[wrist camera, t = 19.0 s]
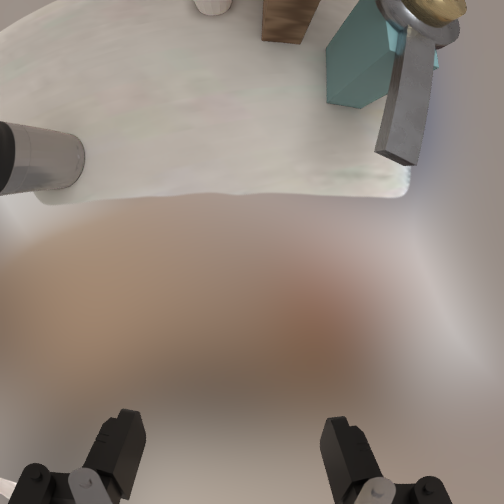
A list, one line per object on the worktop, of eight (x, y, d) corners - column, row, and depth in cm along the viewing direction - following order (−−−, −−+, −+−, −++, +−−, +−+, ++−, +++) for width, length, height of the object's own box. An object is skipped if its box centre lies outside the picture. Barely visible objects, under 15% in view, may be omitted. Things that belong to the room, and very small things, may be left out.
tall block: (326, 102, 39) (389, 50, 18) (325, 48, 36) (377, -24, 16) (360, 108, 39) (438, 67, 19) (358, 54, 37) (423, -6, 16)
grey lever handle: (340, 137, 20) (370, 126, 15) (377, -32, 16) (398, -59, 10) (429, 179, 21) (470, 182, 16) (448, 9, 16) (476, -9, 11)
